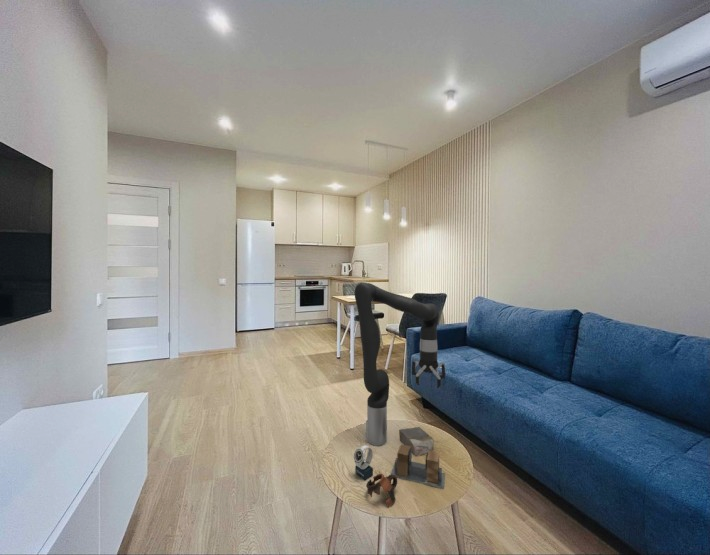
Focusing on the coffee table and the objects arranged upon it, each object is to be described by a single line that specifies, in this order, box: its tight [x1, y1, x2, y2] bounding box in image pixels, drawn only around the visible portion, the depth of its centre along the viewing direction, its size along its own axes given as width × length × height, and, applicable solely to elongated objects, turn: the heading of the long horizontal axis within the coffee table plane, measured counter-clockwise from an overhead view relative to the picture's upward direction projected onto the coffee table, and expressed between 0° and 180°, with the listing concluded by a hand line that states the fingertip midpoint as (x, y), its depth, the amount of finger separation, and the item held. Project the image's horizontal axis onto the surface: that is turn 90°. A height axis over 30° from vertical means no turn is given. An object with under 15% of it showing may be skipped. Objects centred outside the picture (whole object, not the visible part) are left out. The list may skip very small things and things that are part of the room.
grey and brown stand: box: [390, 443, 446, 490], centre depth 117 cm, size 20×8×9 cm, turn 69°
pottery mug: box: [365, 473, 398, 508], centre depth 107 cm, size 12×10×8 cm
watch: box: [353, 444, 374, 482], centre depth 117 cm, size 6×8×11 cm
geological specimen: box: [398, 426, 435, 457], centre depth 138 cm, size 11×6×15 cm
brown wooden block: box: [425, 450, 440, 483], centre depth 115 cm, size 5×6×8 cm
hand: (428, 385), depth 131 cm, fingers open, 8 cm apart
